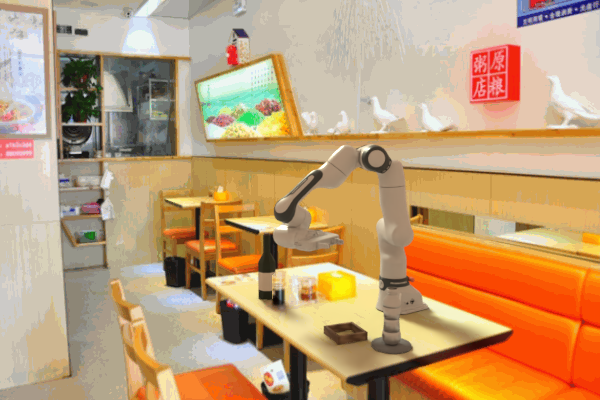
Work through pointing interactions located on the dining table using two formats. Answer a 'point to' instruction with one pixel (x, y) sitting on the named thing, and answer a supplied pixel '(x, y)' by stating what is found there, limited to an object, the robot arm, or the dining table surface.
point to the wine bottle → (265, 270)
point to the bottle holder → (347, 338)
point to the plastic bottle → (391, 317)
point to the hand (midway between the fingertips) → (336, 244)
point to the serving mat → (391, 346)
